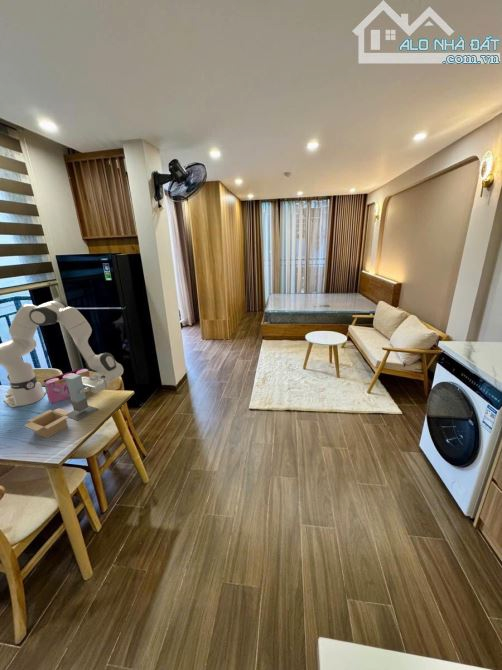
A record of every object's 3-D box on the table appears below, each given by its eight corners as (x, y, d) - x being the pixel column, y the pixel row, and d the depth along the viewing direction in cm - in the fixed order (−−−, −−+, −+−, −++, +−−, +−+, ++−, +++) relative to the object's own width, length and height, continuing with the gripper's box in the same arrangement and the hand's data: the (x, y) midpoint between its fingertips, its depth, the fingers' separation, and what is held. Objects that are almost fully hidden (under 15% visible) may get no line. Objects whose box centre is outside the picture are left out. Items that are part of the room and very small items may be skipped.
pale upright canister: (73, 409, 143) (65, 377, 137) (82, 405, 147) (74, 373, 141) (79, 411, 141) (71, 379, 135) (88, 407, 145) (80, 375, 139)
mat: (64, 416, 142) (63, 415, 142) (84, 405, 152) (84, 404, 152) (78, 421, 137) (78, 420, 137) (98, 409, 148) (98, 408, 148)
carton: (24, 435, 127) (20, 424, 125) (58, 417, 141) (55, 406, 139) (44, 444, 121) (40, 432, 119) (77, 424, 135) (74, 413, 133)
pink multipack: (90, 384, 176) (86, 366, 172) (94, 388, 172) (90, 370, 167) (48, 399, 158) (42, 380, 154) (52, 404, 154) (46, 384, 150)
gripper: (85, 372, 155) (61, 382, 143) (109, 378, 147) (86, 389, 135) (87, 381, 157) (64, 392, 144) (111, 387, 149) (88, 399, 137)
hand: (75, 391), depth 140 cm, fingers closed on pale upright canister, 5 cm apart
